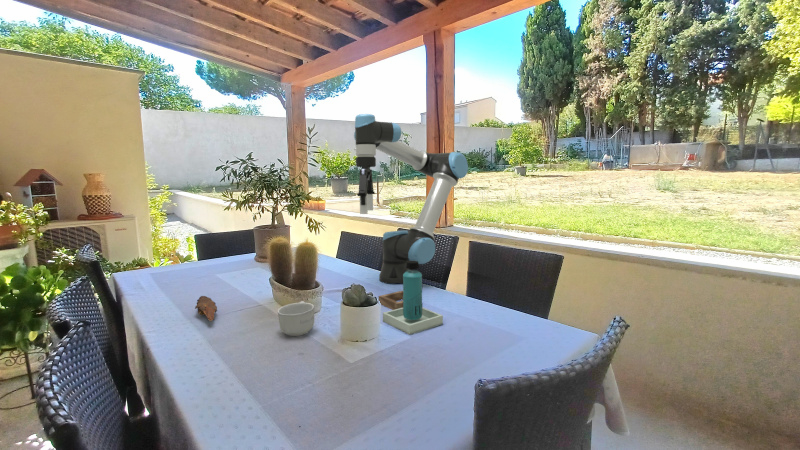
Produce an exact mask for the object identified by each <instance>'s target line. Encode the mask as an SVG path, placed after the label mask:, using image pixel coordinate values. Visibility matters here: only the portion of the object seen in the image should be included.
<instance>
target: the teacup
mask: <svg viewBox="0 0 800 450" xmlns="http://www.w3.org/2000/svg"><path fill="white" fill-rule="evenodd" d="M277 314H278V324H279V328H280V331H281V332H282V333H284V334H286V335H287V336H290V337H298V336H303V335H305V334H308V333H309V332H310V330H312V329H313V327H314V325H315V305H314V304H313V303H310V302H305V301H304V300H301V301H299V302H295V303H294V302H293V303H288V304H285V305H283V306H281V307H279V308H278V309H277Z"/></svg>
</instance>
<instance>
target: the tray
mask: <svg viewBox="0 0 800 450" xmlns="http://www.w3.org/2000/svg"><path fill="white" fill-rule="evenodd" d="M422 309H423V312H422V314H423V315H422V317H421V318H420V319H417V320H409V319H406V318H404V316H403V308H399V309H395V310H388V311H385V312H382V322H383V323H385V324H387V325H389V326H391V327H393V328H395V329H396V330H399V331H401V332H403V333H405V334H407V335H408V336H411V335H414V334H417V333H420V332H424V331H426V330H430V329H433V328H436V327H439V326H441V324H442V325H444V315H443V314H440V313H438V312H435V311H433V310H431V309H428V308H426V307H424V306H422Z"/></svg>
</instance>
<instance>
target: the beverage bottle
mask: <svg viewBox="0 0 800 450" xmlns="http://www.w3.org/2000/svg"><path fill="white" fill-rule="evenodd" d="M406 268H408V269H410V270H409V271H406V272H405V273H404V274H403V283H402V284H403V285H402V289H403V290H402V291H403V300H402V301H403V316H404V318H406V319H409V320H417V319H420V318H421V317H422V315H423V314H422V312H423V309H422V307H423V273H421V272H420V270H419V271H418V270H416V269H420V264H418V261H407V263H406Z"/></svg>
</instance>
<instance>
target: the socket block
mask: <svg viewBox="0 0 800 450" xmlns="http://www.w3.org/2000/svg"><path fill="white" fill-rule="evenodd" d="M401 299H402V300H401ZM379 301H380V303H381V306H383V307H385V308H388V309H390V311H392V310H395V309H399V308H403V290H400V291H399V290H398V291H395V292H390V293H385V294H381V295H378V302H379Z"/></svg>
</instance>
